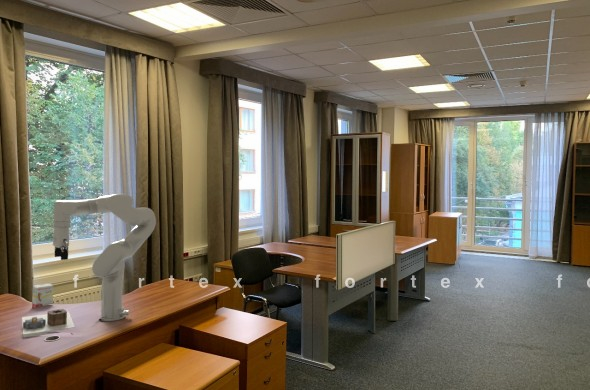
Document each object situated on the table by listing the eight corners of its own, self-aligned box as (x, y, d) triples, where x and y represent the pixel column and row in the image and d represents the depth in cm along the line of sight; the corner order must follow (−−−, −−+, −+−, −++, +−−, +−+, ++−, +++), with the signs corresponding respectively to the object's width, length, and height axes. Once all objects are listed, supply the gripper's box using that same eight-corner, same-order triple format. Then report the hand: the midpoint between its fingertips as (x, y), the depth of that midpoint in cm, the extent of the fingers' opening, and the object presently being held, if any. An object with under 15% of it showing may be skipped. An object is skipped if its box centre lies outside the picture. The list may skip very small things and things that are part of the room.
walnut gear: (70, 320, 205) (70, 309, 205) (60, 326, 197) (61, 314, 196) (53, 320, 205) (53, 308, 205) (42, 326, 197) (42, 314, 196)
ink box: (35, 310, 224) (35, 287, 223) (31, 308, 227) (32, 285, 226) (53, 306, 230) (53, 284, 230) (49, 304, 233) (49, 283, 233)
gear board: (21, 320, 208) (22, 307, 207) (68, 314, 219) (68, 302, 218) (23, 337, 186) (23, 323, 186) (74, 330, 197) (75, 317, 197)
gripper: (48, 223, 222) (47, 256, 222) (59, 226, 210) (58, 261, 210) (64, 222, 227) (63, 254, 228) (75, 226, 215) (75, 260, 215)
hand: (61, 258), depth 219 cm, fingers open, 9 cm apart
